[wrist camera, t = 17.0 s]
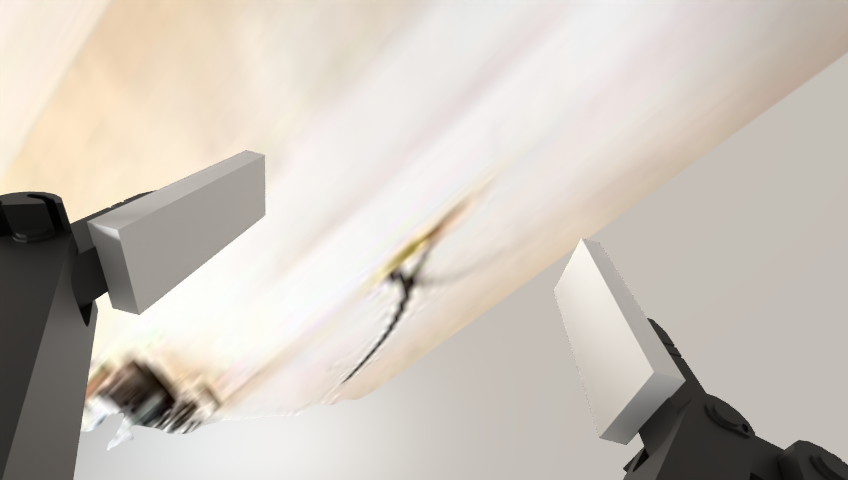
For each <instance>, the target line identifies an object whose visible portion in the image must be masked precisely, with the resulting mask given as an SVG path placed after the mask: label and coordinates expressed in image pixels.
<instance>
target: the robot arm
mask: <svg viewBox="0 0 848 480" xmlns="http://www.w3.org/2000/svg"><path fill="white" fill-rule="evenodd" d="M264 216H265V155H263V154H259V153H255V152H251V151H247V150H246V151H244V152H241V153H239V154H237V155H235V156H232V157H230V158H228V159H226V160H224V161H221V162H219V163H217V164H215V165H212V166H210V167H208V168H206V169H203V170H201V171H199V172H197V173H195V174H192V175H190V176H188V177H186V178H183V179H181V180H179V181H177V182H174V183H172V184H170V185H168V186H166V187H163V188H161V189H159V190H155V191H151V192H146V193H142V194H138V195H136V196H133V197H131V198H129V199H126V200H124V202H120V203H117V204H115V205H113V206H111V208H106V209H103V210H101V211H99V212H97V213H94V214H92V215H90V216H87V217H85V218H83V219H80V220H78V221H76V222H74V223H71V224H70V223H69V220H68V217H67V213H66V210H65V207H64V204H63V201H62V198H61V197H59V196H57V195H55V194H51V193H45V192H18V193H10V194H5V195H0V480H73V477H74V470H75V464H76V456H77V449H78V443H79V436H80V429H81V423H82V416H83V409H84V402H85V395H86V388H87V381H88V375H89V368H90V361H91V354H92V347H93V340H94V334H95V327H96V320H97V313H98V308H97V305H96V302H95V299H97V298H98V297H100V296H101V295H103V294H104V293H106V292H107V291H108V294H109V297H110V301H111V304H112V307H113V308H115V309H119V310H122V311H126V312H130V313H134V314H137V315H140V314H141V313H142V312H144V311H145V310H146V309H147V308H149V307H150V306H151V305H153V304H154V303H155V302H156V301H158V300H159V299H160V298H161V297H163V296H164V295H165V294H166V293H168V292H169V291H170V290H171V289H173V288H174V287H175V286H176V285H178V284H179V283H180V282H182V281H183V280H184V279H185V278H187V277H188V276H189V275H190V274H192V273H193V272H194V271H195V270H197V269H198V268H199V267H200V266H202V265H203V264H204V263H205V262H207V261H208V260H209V259H211V258H212V257H213V256H214V255H216V254H217V253H218V252H219V251H221V250H222V249H223V248H224V247H226V246H227V245H228V244H229V243H231V242H232V241H233V240H235V239H236V238H237V237H238V236H240V235H241V234H242V233H243V232H245V231H246V230H247V229H248V228H250V227H251V226H252V225H253V224H255V223H256V222H257V221H258V220H260V219H261V218H262V217H264ZM554 293H555V297H556V300H557V303H558V307H559V310H560V313H561V316H562V319H563V323H564V326H565V329H566V332H567V335H568V339H569V342H570V345H571V348H572V352H573V355H574V358H575V361H576V364H577V368H578V371H579V374H580V377H581V380H582V384H583V387H584V390H585V393H586V397H587V400H588V403H589V406H590V409H591V413H592V416H593V419H594V422H595V425H596V429H597V432H598V435H599V438H602V439H606V440H609V441H613V442H617V443H621V444H624V445H627V444H628V443H629V442H630V441H631V440H632V439H633V437H634V436H635V435H636V434H637V433H638V432H639V434H640V437H641V439H642V441H643V444H644V447H643V448H642V449H641V450H640V452H638V453H637V455H636V456H635V457H634V458H633V459H632V460H631V461H630V462H629V463H628V464H627V465H626V466H625V467H624V468H623V469H624V470H625V471H626V472H627V474H626V475H625V477H624V479H623V480H848V465H847V464H846V463H845V462H842V460H841V459H840V458H838V457H837V456H836V455H834V454H831V453H830V452H828V451H827V450H825V449H823V448H822V447H820V446H817V445H815V444H813V443H811V442H808V441H801V440H798V441H797V442H795V443H793V444H792V445H791V446H789V447H788V448H787V449H785V450H783V449H781V448H779V447H777V446H775V445H773V444H771V443H769V442H767V441H765V440H763V439H761V438H759V437H757V436H755V432H754V431H753V429H752V427H751V426H750V424H749V423H748V421H747V420H746V419H745V418H744V417H743V416H742V415H741V414H740V413H739V412H738V411H737V410H735V409H734V408H732V407H731V406H730V405H729V404H728V403H726V402H724V401H722V400H721V399H719V398H717V397H715V396H712V395H709V394H706V392H705V391H704V389H703V388H702V386H701V385H700V383H699V381H698V380H697V378H696V377H695V375H694V374H693V372H692V371H691V370H690V368H689V366H688V365H687V363H686V362H685V360H684V359H682V358H681V354H680V353H679V351H678V350H677V348H675V347H674V344H673V342H672V341H671V339H670V338H669V336H668V335H667V333H666V332H665V331H664V330H663V329H662V328H661V327H660V326H659V325H658V324H657V323H655V321H654V320H652V319H649V318H646V316H645V315H644V313H643V311H642V310H641V308H640V306H639V305H638V303H637V302H636V300H635V298H634V297H633V295H632V294H631V292H630V291H629V289H628V287H627V286H626V284H625V282H624V281H623V280H622V278H621V276H620V275H619V273H618V271H617V270H616V268H615V267H614V265H613V263H612V262H611V260H610V258H609V257H608V255H607V253H606V252H605V250H604V249H603V247H602V246H601V244H600V243H598V242H594V241H590V240H586V239H582V238H581V240H580V242H579V244H578V246H577V248H576V250H575V252H574V253H573V256H572V257H571V259H570V261H569V263H568V265H567V267H566V269H565V271H564V273H563V275H562V276H561V278H560V280H559V282H558V284H557V286H556V288H555V290H554Z"/></svg>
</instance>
